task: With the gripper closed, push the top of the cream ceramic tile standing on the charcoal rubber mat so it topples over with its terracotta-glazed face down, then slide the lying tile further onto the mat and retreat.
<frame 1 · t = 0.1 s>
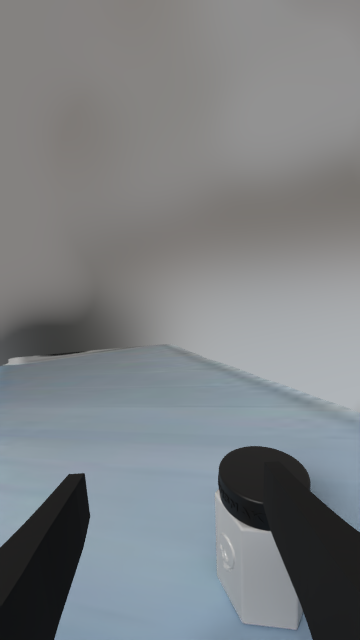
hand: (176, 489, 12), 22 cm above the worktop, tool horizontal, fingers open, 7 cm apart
jar: (262, 583, 29), on the worktop
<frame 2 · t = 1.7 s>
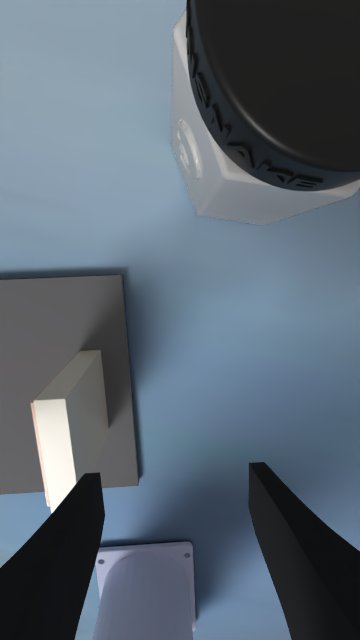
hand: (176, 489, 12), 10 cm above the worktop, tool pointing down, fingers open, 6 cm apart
mat: (19, 391, 21), on the worktop
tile: (94, 391, 20), point 1 cm above the worktop, touching mat
jar: (240, 157, 18), on the worktop
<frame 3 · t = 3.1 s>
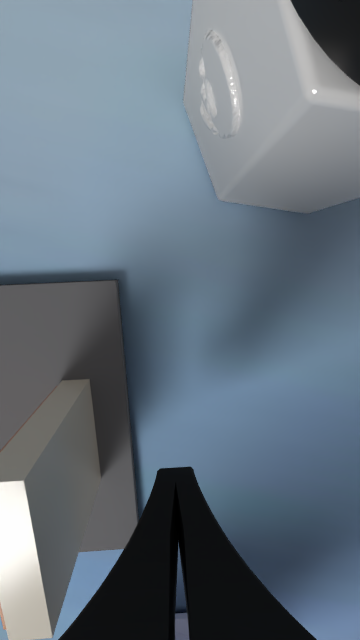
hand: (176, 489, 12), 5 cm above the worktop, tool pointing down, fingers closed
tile: (82, 431, 16), point 1 cm above the worktop, touching mat
jar: (277, 121, 14), on the worktop
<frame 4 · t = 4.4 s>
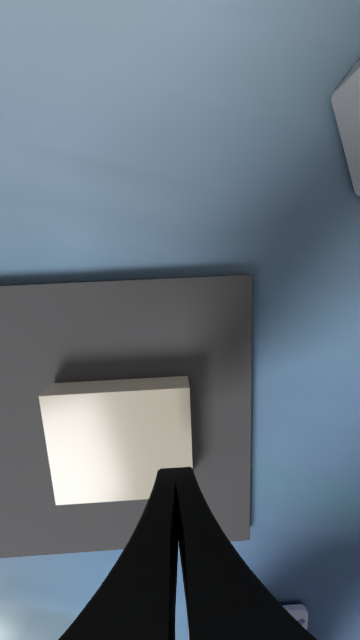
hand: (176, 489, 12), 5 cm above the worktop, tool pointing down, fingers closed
mat: (107, 424, 16), on the worktop
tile: (190, 435, 15), point 2 cm above the worktop, tilted 90°, touching mat
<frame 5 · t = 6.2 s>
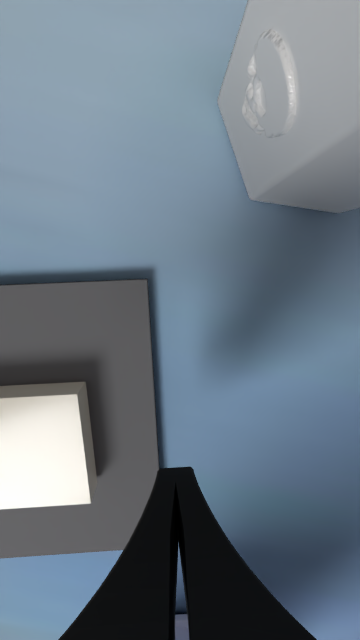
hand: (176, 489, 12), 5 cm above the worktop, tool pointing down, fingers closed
mat: (12, 429, 16), on the worktop
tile: (88, 442, 15), point 2 cm above the worktop, tilted 90°, touching mat
jar: (309, 121, 14), on the worktop
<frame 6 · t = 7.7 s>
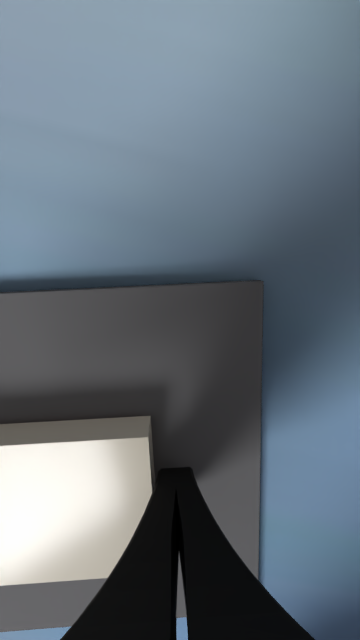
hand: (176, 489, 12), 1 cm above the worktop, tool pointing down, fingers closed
mat: (76, 471, 13), on the worktop
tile: (154, 494, 11), point 2 cm above the worktop, tilted 90°, touching gripper
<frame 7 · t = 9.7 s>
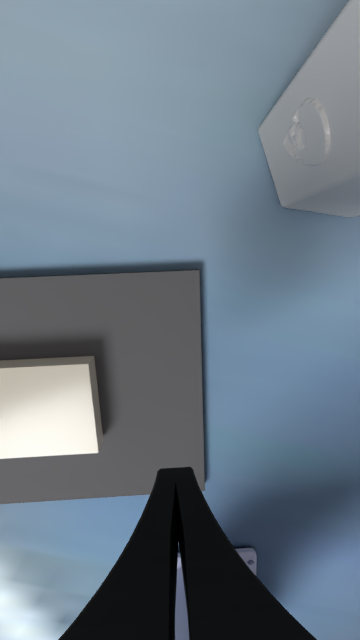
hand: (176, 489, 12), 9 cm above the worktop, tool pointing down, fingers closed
mat: (85, 392, 20), on the worktop
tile: (96, 404, 18), point 2 cm above the worktop, tilted 90°, touching mat
jar: (328, 144, 17), on the worktop
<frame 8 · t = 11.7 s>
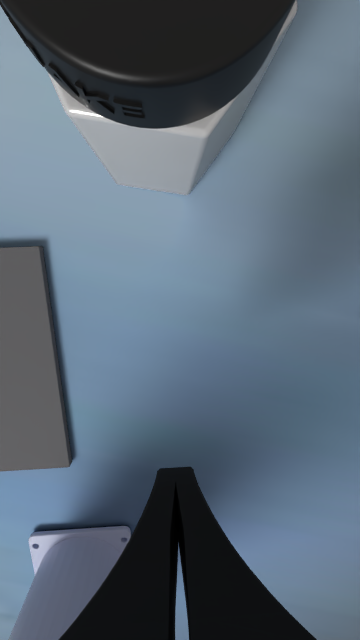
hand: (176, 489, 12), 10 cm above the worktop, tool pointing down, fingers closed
jar: (160, 124, 18), on the worktop
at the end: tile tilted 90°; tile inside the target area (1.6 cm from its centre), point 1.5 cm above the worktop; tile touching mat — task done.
